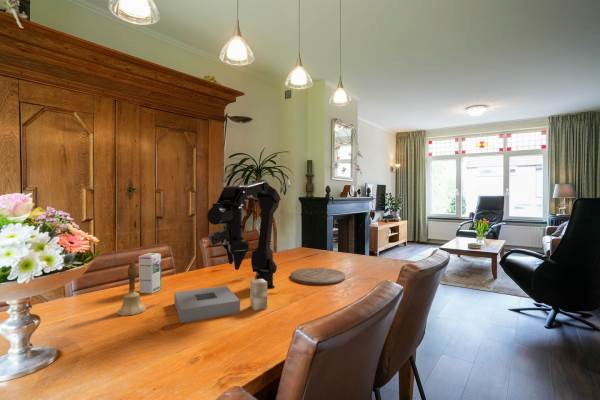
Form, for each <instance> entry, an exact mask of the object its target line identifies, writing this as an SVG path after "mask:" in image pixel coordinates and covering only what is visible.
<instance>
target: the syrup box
mask: <svg viewBox="0 0 600 400" xmlns="http://www.w3.org/2000/svg"><path fill="white" fill-rule="evenodd" d="M138 275H139V276H138V279H139V281H138V283H139V285H138V286H139V288H138V290H139V294H140V293H141V294H154V293H156V292H158V291H160V290H162V289H163V288H162V254H161V253H159V252H148V253H145V254H141V255H139V256H138Z"/></svg>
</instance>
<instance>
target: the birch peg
mask: <svg viewBox="0 0 600 400" xmlns="http://www.w3.org/2000/svg"><path fill="white" fill-rule="evenodd" d="M249 287H250V289H249V290H250V291H249V292H250V293H249V294H250V296H249V297H250V303H249V305H250V308H251V309H252V310H253V311H254V312H256V311H261V310H267V309H268V288H267V281H265V280H264V279H256V280H255V279H251V280H250V284H249Z"/></svg>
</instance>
